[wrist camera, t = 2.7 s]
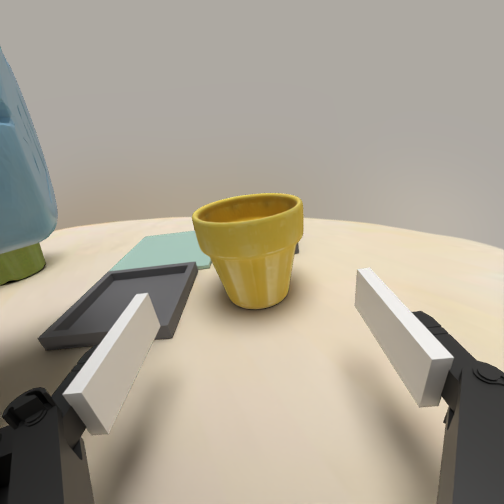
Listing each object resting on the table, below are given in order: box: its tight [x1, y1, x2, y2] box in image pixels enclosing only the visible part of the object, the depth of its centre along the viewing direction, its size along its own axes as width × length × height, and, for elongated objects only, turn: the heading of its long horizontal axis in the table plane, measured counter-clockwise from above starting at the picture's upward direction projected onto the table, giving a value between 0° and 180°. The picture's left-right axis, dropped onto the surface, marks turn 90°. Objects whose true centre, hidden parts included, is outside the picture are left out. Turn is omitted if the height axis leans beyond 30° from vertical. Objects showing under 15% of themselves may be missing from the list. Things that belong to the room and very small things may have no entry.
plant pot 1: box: [0, 243, 46, 285], centre depth 37 cm, size 12×12×11 cm
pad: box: [110, 231, 212, 271], centre depth 40 cm, size 15×15×1 cm
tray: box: [38, 261, 198, 350], centre depth 27 cm, size 12×12×2 cm
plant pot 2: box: [192, 193, 303, 309], centre depth 25 cm, size 10×10×10 cm
